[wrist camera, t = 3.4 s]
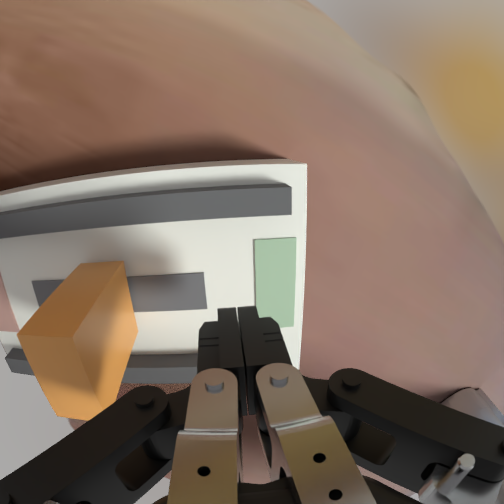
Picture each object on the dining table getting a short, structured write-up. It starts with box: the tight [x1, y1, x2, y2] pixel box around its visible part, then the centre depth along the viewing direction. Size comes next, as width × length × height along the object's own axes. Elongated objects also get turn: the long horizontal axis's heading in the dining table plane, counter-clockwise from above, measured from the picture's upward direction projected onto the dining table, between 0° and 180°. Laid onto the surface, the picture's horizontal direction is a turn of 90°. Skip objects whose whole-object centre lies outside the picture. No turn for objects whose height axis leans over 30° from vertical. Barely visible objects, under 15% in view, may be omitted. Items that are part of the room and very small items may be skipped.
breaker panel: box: [0, 159, 307, 370], centre depth 17 cm, size 20×12×4 cm, turn 92°
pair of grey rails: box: [0, 183, 292, 384], centre depth 14 cm, size 18×10×1 cm, turn 92°
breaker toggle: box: [16, 261, 138, 421], centre depth 12 cm, size 2×4×6 cm, turn 1°
